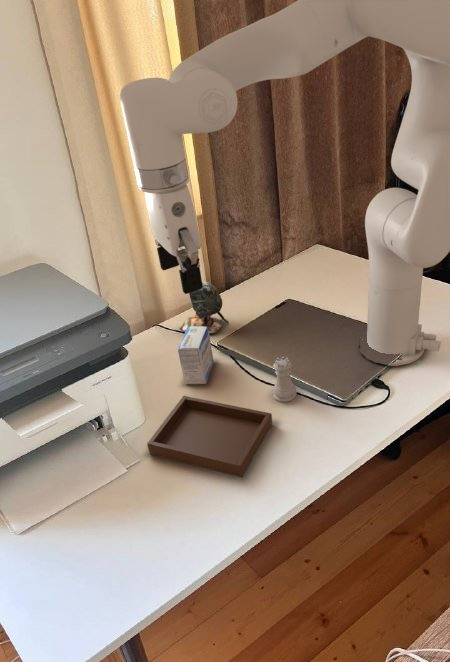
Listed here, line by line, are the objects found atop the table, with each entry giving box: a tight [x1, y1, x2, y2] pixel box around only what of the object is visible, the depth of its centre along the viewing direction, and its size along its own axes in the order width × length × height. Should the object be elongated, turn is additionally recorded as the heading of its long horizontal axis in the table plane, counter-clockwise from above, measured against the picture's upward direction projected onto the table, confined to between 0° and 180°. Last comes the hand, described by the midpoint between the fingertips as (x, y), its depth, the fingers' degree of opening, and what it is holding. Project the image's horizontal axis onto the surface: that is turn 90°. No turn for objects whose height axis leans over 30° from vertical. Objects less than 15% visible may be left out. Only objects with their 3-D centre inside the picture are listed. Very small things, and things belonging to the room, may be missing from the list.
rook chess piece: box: [272, 356, 297, 403], centre depth 115 cm, size 4×4×8 cm
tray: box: [146, 395, 274, 478], centre depth 110 cm, size 18×14×3 cm
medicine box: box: [177, 326, 215, 385], centre depth 124 cm, size 8×4×9 cm, turn 168°
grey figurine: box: [178, 247, 230, 334], centre depth 133 cm, size 8×11×20 cm
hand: (181, 278), depth 102 cm, fingers open, 9 cm apart
